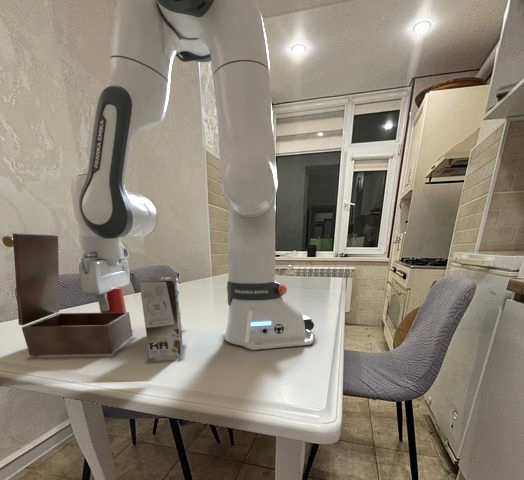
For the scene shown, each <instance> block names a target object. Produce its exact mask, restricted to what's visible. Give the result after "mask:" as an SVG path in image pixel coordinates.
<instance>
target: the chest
mask: <svg viewBox="0 0 524 480" xmlns="http://www.w3.org/2000/svg"><path fill="white" fill-rule="evenodd" d="M21 331H22V334H23V337H24V340H25V341H24V342H25V344H26V348H27V351H28V354H29V356H68V355H69V356H70V355H71V356H73V355H107V354H108V355H109V354H114V353H115V352H116V351H117V350H118V349H119V348H121V347H122V346H123V345H124V344H126V342H128V340H130V339H131V338H132V337H133V329H132V324H131V317H130V312H128V311H126V312H113V313H100V312H57V313H54V314H52V315H49V316H46V317H44V318H41V319H39V320H36V321H34V322H31V323H28V324H26V325H23V326H22V327H21Z"/></svg>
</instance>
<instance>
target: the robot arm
mask: <svg viewBox="0 0 524 480" xmlns="http://www.w3.org/2000/svg"><path fill="white" fill-rule="evenodd" d="M109 45H110V46H109V63H108V75H107V81H106V85H105V88H104V89H103V90H102V91H101V93H100V94H99V98H98V102H97V104H96V110H95V116H94V123H93V131H92V138H91V146H90V152H89V153H90V154H89V163H88V170H87V173H82V174H78V175H76V176H75V177H74V178H73V179H72V181H71V186H70V187H71V188H70V193H71V194H70V195H71V204H72V208H73V213H74V219H75V221H76V222H77V225H78V230H79V232H78V239H79V243H80V249H81V255H82V257H81V259H80V262H79V263H78V273H79V282H80V289H81V291H82V293H83V295H85V296H86V297H87V296H90V297H91V296H95V298H96V300H97V302H98V305H99V304H100V306H101V310H102V311H109V310H110V309H111V307H110V303H108V300H107V292H109V291H112V289H115V288H117V287H122V288H123V287H125V286H128V285H130V281H131V280H130V279H131V276H130V266H129V260H128V258H129V257H130V254H129V253H130V252H129V249H128V248H126V247H125V246H124V245H123V243H122V239H121V238H142V237H146V236H149V235H151V234H152V233H153V232H154V231H155V229H156V227H157V225H158V212H157V208H156V207H155V205H154V203H153V202H152V201H151V200H150V199H149V198H148V197H146V196H145V195H142V194H141V193H139V192H136V191H132V190H130V189H127V188H126V185H125V182H126V174H127V169H128V168H127V167H128V160H129V155H130V147H131V143H132V141H133V139H134V137H135V136H136V135H137V134H138V133H139V132H142V131H148V130H152V129H154V128H156V127H158V126H159V125H160V124H161V123H162V122H163V121H164V120H165V117H166V113H167V109H168V106H169V105H168V104H169V100H170V99H169V98H170V89H171V77H172V76H171V75H172V68H173V67H172V66H173V61H174V59H175V57H176V58H177V59H178V60H179V61H181V62H184V63H189V62H196V63H197V62H198V63H209V62H210V63H211V72H212V73H211V74H212V82H213V89H214V90H213V93H214V99H215V107H216V108H215V109H216V110H215V111H216V119H217V127H218V152H219V153H218V154H219V155H218V156H219V170H220V171H219V172H220V184H221V192H222V195H223V197H224V199H225V201H226V204H228V207H229V208H228V236H227V240H228V241H227V266H228V267H227V268H228V269H227V270H228V271H227V272H228V281H227V283H226V284H227V285H226V300H227V301H226V302H227V305H228V314H227V315H228V316H227V323H226V328H225V329H226V330H225V333H224V337H223V339H224V340H225V341H226V342H228V343H229V344H232V345H236V346H240V347H244V348H246V349H248V350H253V351H254V350H256V351H257V350H265V349H267V350H268V349H278V348H279V349H280V348H288V347H289V348H290V347H298V346H299V347H300V346H310V345H312V344H313V343H314V341H315V340H314V339H315V338H314V334H313V332H312V330H313V329H314V327H315V324H314V323H315V322H313V318H311V317H309V316H307V315H303V314H302V312H301V311H300V310H299V309H297V307H295V306H294V305H293V304H291V303H290V302H289V301H288V300H286V298H284V297H283V296H284V295H285V294H286V293H287V292H288V287H287V286H286V285H285V284H282V283H280V282H278V281H277V280H276V245H277V243H276V211H277V210H276V207H277V206H276V203H277V192H278V191H277V190H278V173H277V161H276V160H277V159H276V146H275V135H274V123H273V121H274V119H273V105H272V87H271V70H270V59H269V50H268V49H269V48H268V44H267V36H266V31H265V27H264V22H263V17H262V13H261V10H260V8H259V6H258V4H257V2H256V1H255V0H117V3H116V7H115V12H114V16H113V22H112V28H111V34H110V44H109Z"/></svg>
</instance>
